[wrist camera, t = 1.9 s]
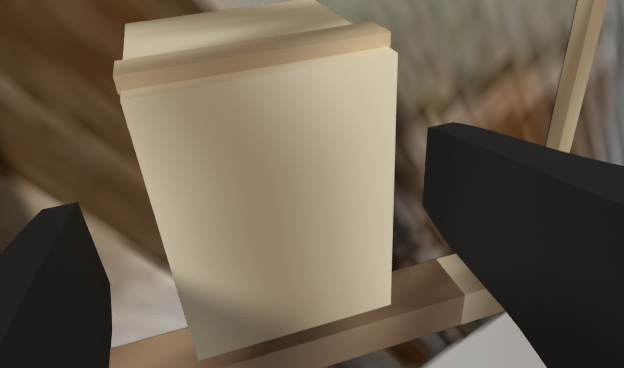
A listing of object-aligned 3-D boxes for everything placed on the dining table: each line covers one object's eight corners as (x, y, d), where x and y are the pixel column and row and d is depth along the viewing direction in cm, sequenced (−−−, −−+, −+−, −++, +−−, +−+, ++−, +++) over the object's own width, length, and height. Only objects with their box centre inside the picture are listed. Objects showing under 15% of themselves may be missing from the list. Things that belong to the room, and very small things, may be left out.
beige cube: (311, -14, 12) (400, 37, 8) (325, 200, 16) (392, 311, 12) (120, 11, 11) (111, 84, 7) (180, 234, 15) (198, 368, 11)
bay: (662, -305, 11) (753, -337, 9) (530, 259, 20) (564, 292, 19) (-442, -311, 7) (-622, -372, 5) (24, 406, 16) (11, 465, 14)
